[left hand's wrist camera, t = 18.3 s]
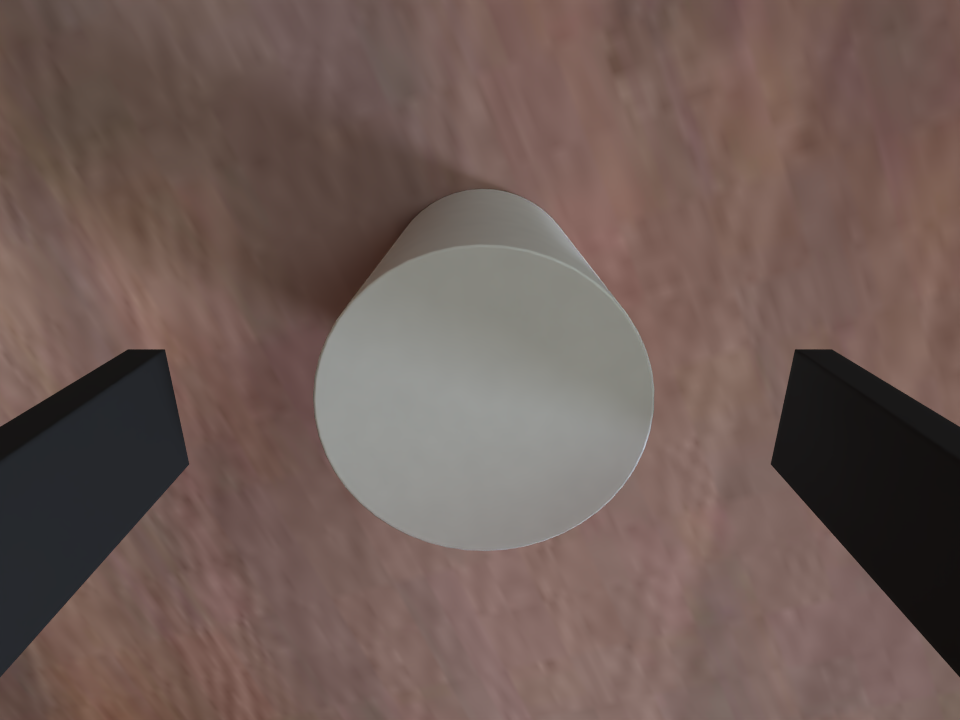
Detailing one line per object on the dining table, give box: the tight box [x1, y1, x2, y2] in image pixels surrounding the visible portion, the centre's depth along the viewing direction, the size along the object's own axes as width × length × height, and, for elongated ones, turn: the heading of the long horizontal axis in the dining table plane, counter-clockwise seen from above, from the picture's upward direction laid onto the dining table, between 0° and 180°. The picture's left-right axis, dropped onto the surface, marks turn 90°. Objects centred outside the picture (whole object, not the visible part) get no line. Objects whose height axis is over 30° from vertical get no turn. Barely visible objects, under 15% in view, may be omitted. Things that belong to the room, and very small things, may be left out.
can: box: [313, 189, 654, 551], centre depth 16 cm, size 7×7×10 cm
